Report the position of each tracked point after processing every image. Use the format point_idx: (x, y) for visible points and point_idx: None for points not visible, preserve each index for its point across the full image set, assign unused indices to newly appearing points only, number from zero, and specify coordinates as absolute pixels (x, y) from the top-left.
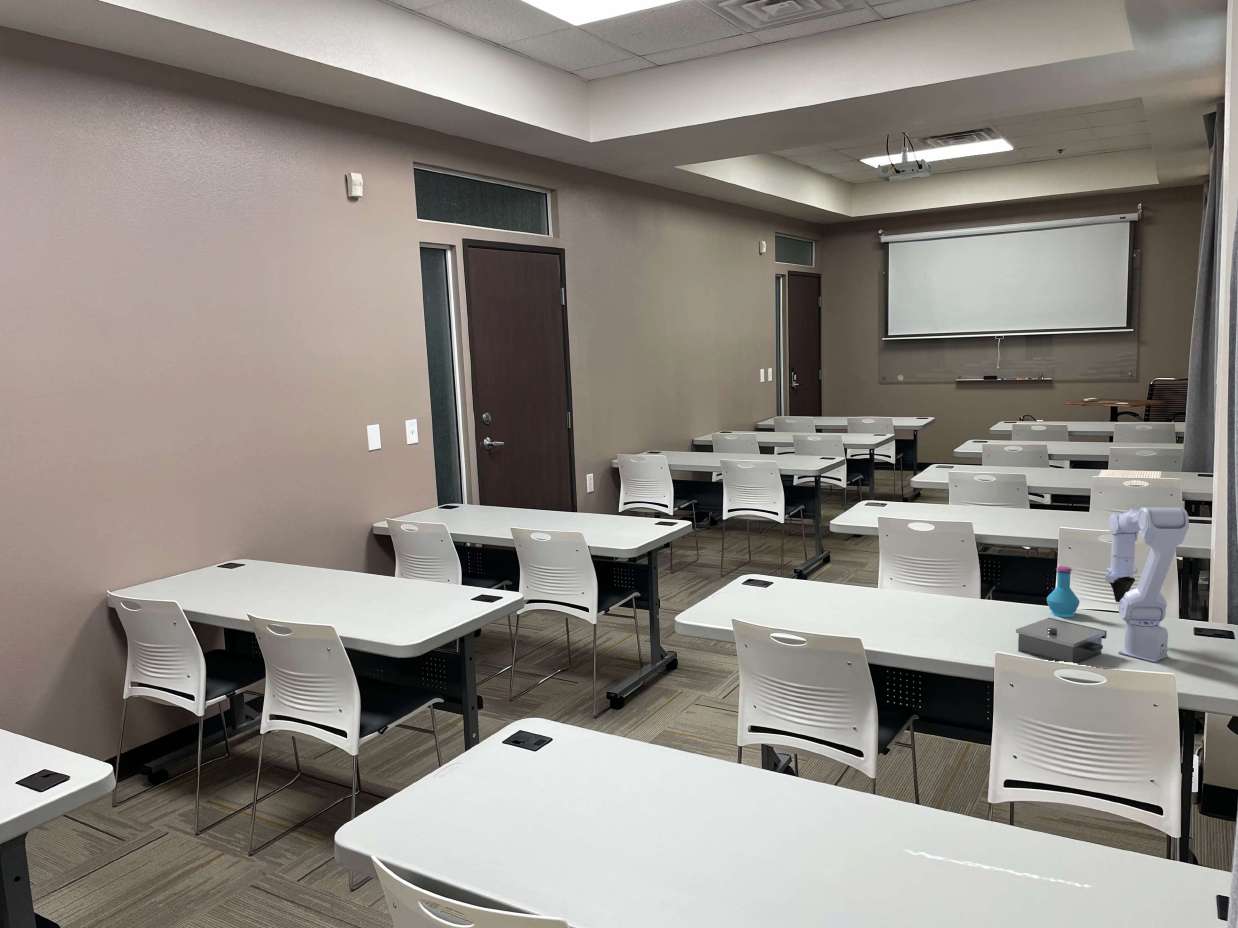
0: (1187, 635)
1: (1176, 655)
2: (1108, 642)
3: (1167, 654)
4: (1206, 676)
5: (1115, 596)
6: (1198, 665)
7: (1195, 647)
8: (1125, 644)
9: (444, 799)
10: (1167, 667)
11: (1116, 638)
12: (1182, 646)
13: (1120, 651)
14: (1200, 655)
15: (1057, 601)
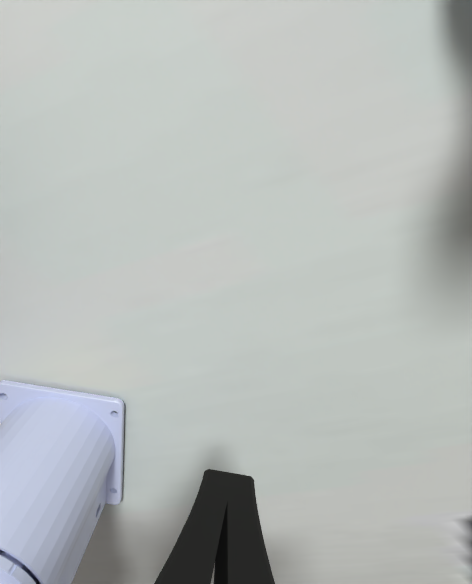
0: (449, 503)
1: (155, 510)
2: (120, 311)
3: (115, 502)
4: None
5: (187, 522)
6: (105, 558)
7: (295, 535)
8: (2, 425)
9: None
10: None
11: (212, 321)
12: (279, 509)
13: (5, 390)
14: None
15: None
